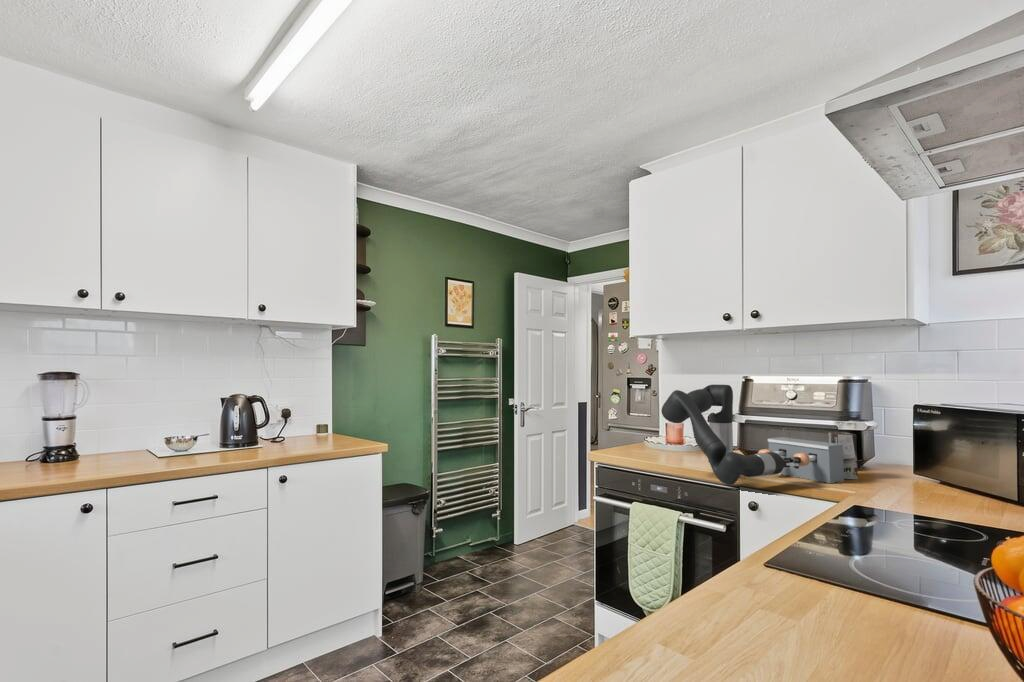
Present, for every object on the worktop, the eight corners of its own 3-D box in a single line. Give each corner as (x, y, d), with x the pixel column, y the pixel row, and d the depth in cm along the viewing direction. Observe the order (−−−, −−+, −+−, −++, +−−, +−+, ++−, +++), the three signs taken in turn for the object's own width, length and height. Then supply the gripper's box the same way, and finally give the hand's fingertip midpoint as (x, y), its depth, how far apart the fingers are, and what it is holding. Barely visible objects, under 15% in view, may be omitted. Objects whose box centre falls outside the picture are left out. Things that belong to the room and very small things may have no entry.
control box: (768, 472, 209) (767, 438, 209) (783, 470, 212) (782, 437, 213) (829, 483, 187) (828, 446, 188) (844, 481, 191) (842, 444, 192)
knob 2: (792, 465, 191) (792, 452, 192) (814, 462, 197) (814, 450, 197) (804, 467, 188) (804, 454, 188) (826, 464, 193) (825, 451, 193)
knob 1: (757, 460, 201) (757, 448, 201) (779, 458, 206) (779, 446, 206) (768, 462, 197) (767, 450, 197) (789, 460, 202) (789, 448, 203)
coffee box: (858, 479, 194) (857, 434, 195) (839, 479, 195) (837, 434, 196) (848, 474, 203) (846, 431, 204) (829, 474, 204) (828, 431, 205)
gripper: (782, 455, 176) (816, 451, 184) (748, 450, 188) (781, 446, 196) (783, 478, 176) (816, 473, 184) (748, 472, 187) (781, 467, 195)
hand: (798, 459), depth 190 cm, fingers closed
